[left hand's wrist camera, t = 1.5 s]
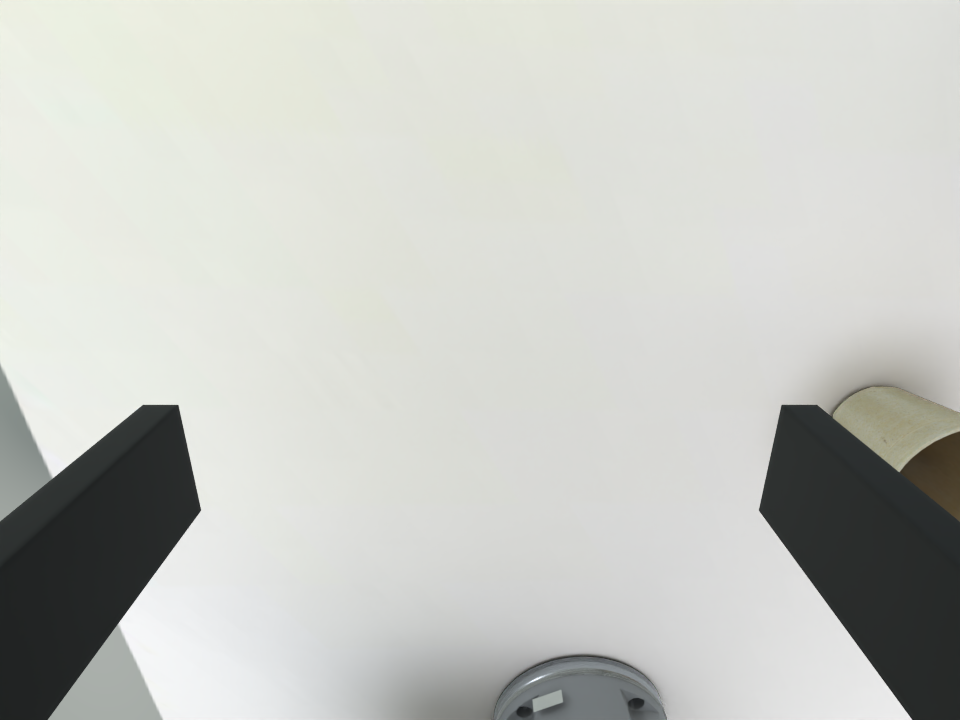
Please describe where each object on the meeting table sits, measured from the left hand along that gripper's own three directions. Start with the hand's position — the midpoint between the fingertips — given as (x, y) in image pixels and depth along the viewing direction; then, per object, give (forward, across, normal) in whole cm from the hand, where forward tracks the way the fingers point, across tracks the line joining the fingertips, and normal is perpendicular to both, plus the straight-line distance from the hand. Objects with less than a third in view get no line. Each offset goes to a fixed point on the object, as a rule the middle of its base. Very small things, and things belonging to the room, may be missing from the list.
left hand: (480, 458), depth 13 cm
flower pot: (+25, -28, +12) cm, 40 cm away
